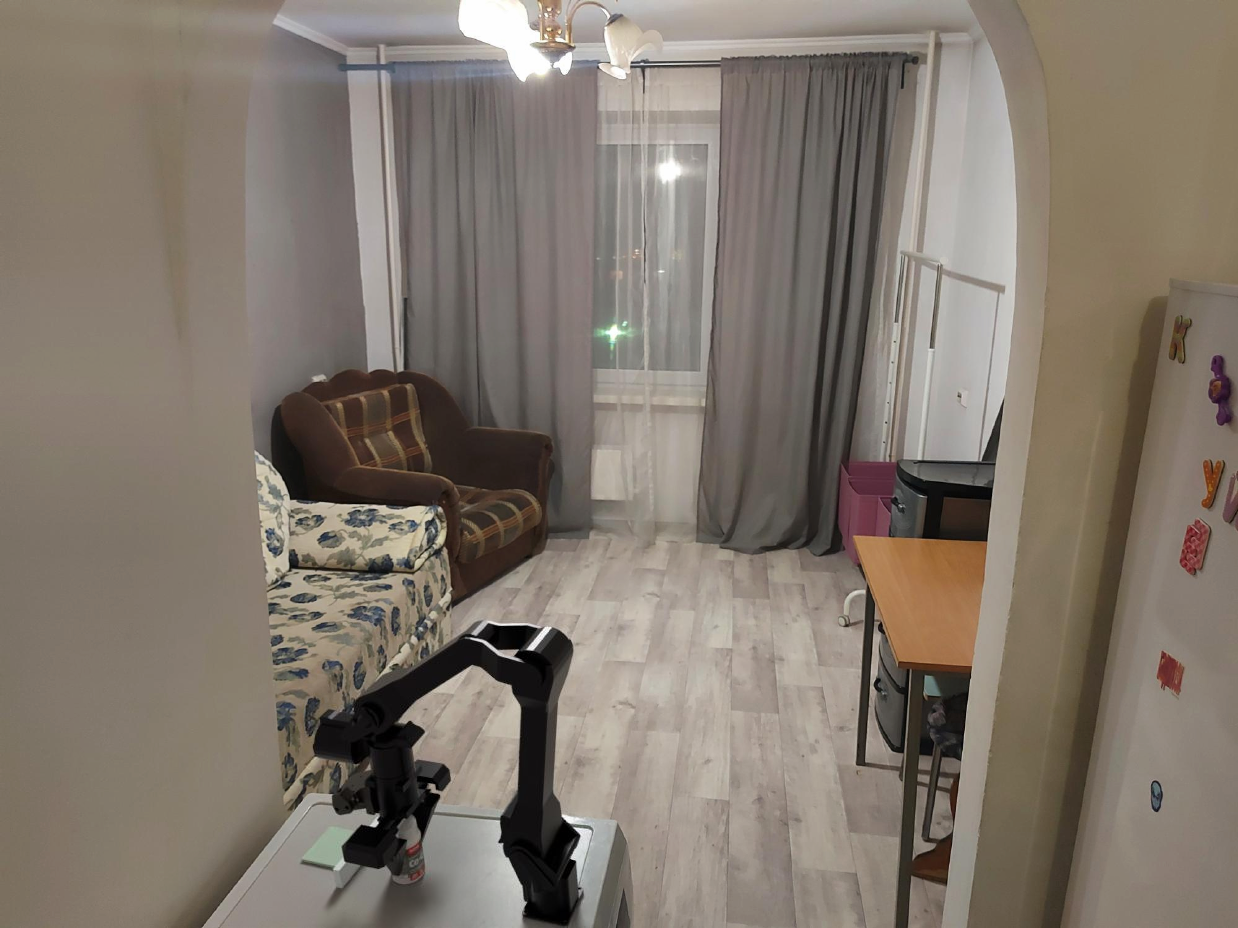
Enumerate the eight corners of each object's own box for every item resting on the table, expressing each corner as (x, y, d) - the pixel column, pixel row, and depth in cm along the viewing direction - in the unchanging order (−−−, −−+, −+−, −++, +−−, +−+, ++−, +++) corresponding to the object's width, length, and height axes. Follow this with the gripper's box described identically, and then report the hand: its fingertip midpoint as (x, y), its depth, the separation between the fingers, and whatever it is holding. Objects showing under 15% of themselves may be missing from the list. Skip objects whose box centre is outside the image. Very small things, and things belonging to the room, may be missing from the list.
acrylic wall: (386, 833, 128) (383, 817, 127) (342, 888, 118) (339, 870, 117) (380, 832, 128) (377, 816, 127) (336, 886, 118) (332, 869, 117)
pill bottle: (417, 887, 118) (409, 836, 115) (385, 883, 119) (377, 833, 116) (431, 862, 122) (424, 813, 120) (400, 858, 123) (393, 809, 121)
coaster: (370, 836, 128) (370, 833, 128) (342, 869, 121) (342, 867, 121) (331, 828, 130) (330, 825, 130) (301, 860, 124) (301, 858, 123)
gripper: (379, 718, 126) (393, 807, 131) (298, 800, 109) (317, 899, 114) (446, 729, 123) (458, 819, 127) (373, 815, 106) (389, 916, 110)
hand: (407, 860), depth 120 cm, fingers open, 5 cm apart
